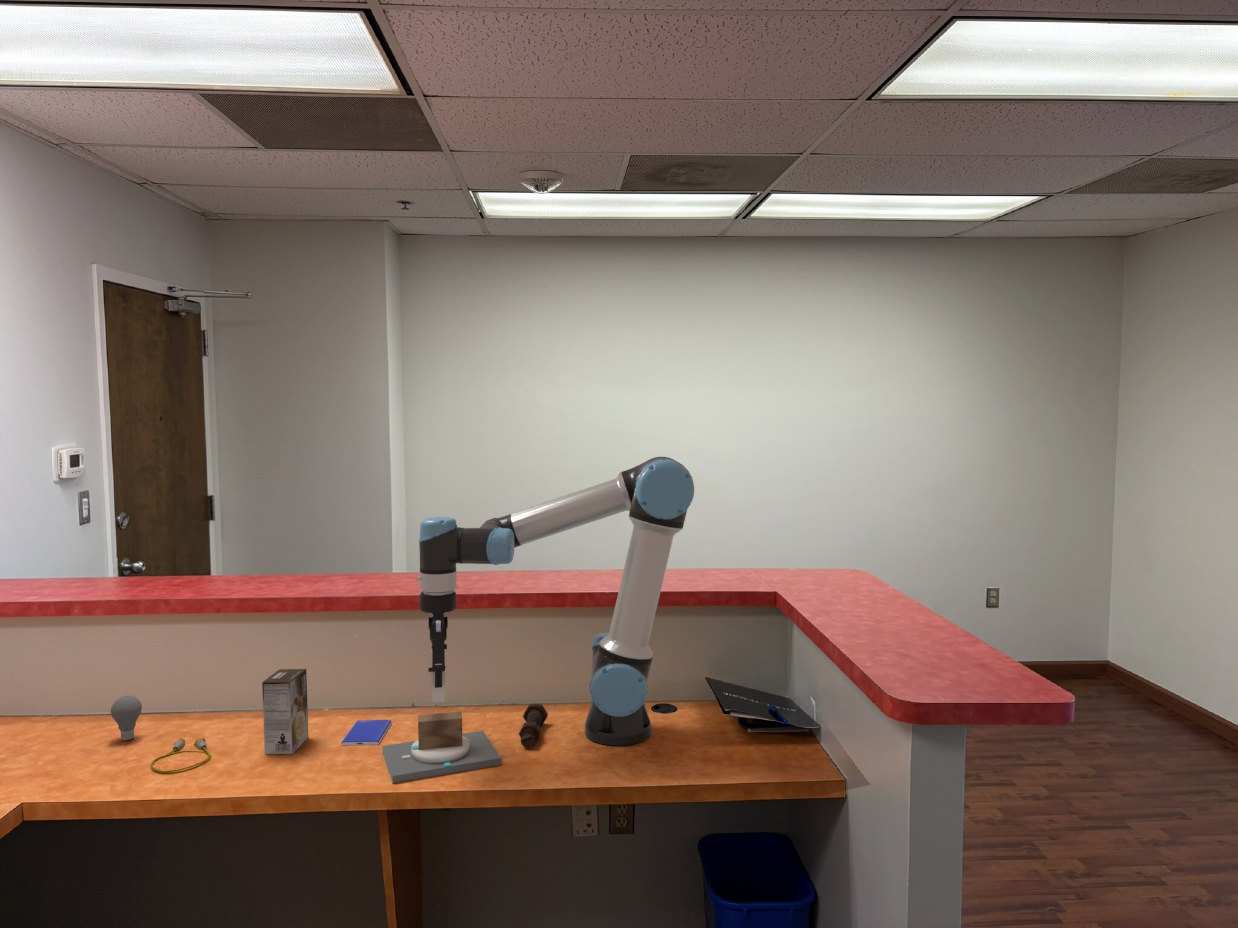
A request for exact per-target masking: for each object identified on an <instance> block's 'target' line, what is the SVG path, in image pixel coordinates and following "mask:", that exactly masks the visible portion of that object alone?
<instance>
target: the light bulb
mask: <svg viewBox="0 0 1238 928" xmlns="http://www.w3.org/2000/svg"><path fill="white" fill-rule="evenodd" d="M142 708H143V704H142V702H141V700H140V699H139V698H137V696H134V695H130V694H129V695H128V694H127V695H123V696H120V697H118V698H117V699H115V701H114V702H113V703H112V705H111V708H110V714H111V717H112V719H113V720H114V722H115V723H116V724H117V726H118V730H120V740H122V741H130V740H131V739H134V737H135V727H136V726H137V723H136V722H137V720H138V718H139V717H140V715H141V712H142V710H143V709H142Z"/></svg>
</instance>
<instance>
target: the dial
mask: <svg viewBox="0 0 1238 928" xmlns="http://www.w3.org/2000/svg"><path fill="white" fill-rule="evenodd" d="M417 718H418V719H417V723H418V724H417V727H418V729H417V734H418V736H417V737H418V738H417V740H414V741H415V742H414V743H413V744H412V747H411V750H412V757H413V758H414V759H415V760H417V761H420V762H424V763H445V762H451V761H454V760H457V759H460V758H462V757H464V756H465V755H466V754H467V753H468V752H469V740H468V739H467V738H466V737H464V736H462V734H463V714H462V711H453V712H452V711H451V712H441V713H429V714H428V713H427V714H418V717H417Z"/></svg>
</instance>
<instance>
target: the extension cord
mask: <svg viewBox="0 0 1238 928" xmlns="http://www.w3.org/2000/svg"><path fill="white" fill-rule="evenodd" d="M185 744H186V739H184V738H179V739H177V740H176V741H175V742H174V743H173V748H172V750H171V751H169V752H168V753H167V754H165V755H161V756H159V757H156V758H154V759H153V760H152V761H151V763H150V767H151V768H150V770H151V771H152V772H154V773H156V774H164V775H165V774H166V775H169V774H173V775H174V774H180V773H184V772H188V771H191V770H193V769H197V768H198V767H201V766H202V765H205V764H206V763H209V762H210V761H211V760H212V757H213V756H212V755H211V753H210V752H209V751H208V750H207V748H208V747H207V746H208V744H207V742H206V739H205V738H204V737H203V738H197V739H196V740H195V741H194V743H193V745H194V747H196V748H197V749H199V750H181V749H183V747H184V745H185ZM200 750H201V751H200ZM182 753H200V754H206V755H207V757H206V759H204V760H202V761H200V762H197V763H195V764H193V765H190V766H186V767H182V768H177V769H171V770H163V769H162V770H160V769H158V768H156V767H154V765H155V763H156V762H158V761H160V760H161V759H163V758H166V757H169V756H171V755H172V756H173V755H176V754H182Z"/></svg>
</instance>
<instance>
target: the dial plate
mask: <svg viewBox="0 0 1238 928" xmlns="http://www.w3.org/2000/svg"><path fill="white" fill-rule="evenodd" d="M462 736H464V737H466V738H467V739H468V740H469V752H468V753H467V754H466V755H465V756H464V757H462V758H460V759H457V760H454V761H451V762H445V763H424V762H420V761H417V760H415V759H414V758H413V757H412V750H411V747H412V744H413V743H414V742H415V741H416V740H412V741H406V742H405V741H404V742H400V743H393V744H387V745H382V755H383V758H384V761H385V764H386V767H387V770H388V774H389V777H390V779H391V783H392V784H397V783H405V782H409V781H416V780H420V779H421V780H422V779H427V778H433V777H437V776H438V777H439V776H444V775H449V774H455V773H460V772H466V771H473V770H479V769H484V768H491V767H497V766H500V765H502V757H501V755H500V754H499V752H498V751H497V750H496V748H495V746H494V744H493V743H492V742H491V740H490V739H489V737H488V736H487V735H486V733H485V731H484V730H478V731H471V732H470V731H469V732H464V733H463V732H462Z"/></svg>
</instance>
